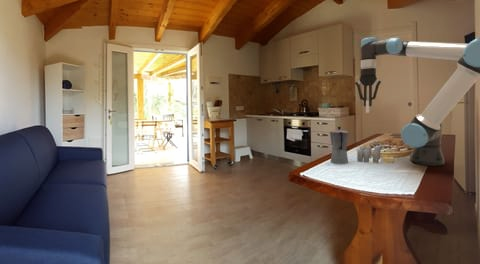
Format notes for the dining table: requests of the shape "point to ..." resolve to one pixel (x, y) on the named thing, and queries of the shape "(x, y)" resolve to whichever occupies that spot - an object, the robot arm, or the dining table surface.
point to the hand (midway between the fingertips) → (367, 112)
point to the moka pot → (339, 146)
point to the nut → (388, 159)
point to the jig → (368, 155)
